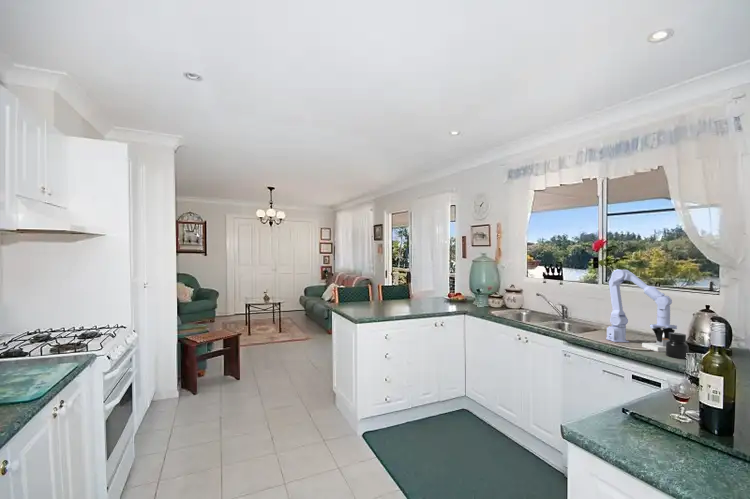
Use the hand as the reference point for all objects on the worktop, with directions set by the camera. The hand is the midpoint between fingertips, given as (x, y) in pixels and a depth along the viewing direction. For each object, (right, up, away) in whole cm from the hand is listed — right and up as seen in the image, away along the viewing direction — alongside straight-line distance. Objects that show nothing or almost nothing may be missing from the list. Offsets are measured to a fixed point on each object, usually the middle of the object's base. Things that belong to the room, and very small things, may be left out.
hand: (663, 341), depth 196 cm
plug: (0, -3, 0) cm, 3 cm away
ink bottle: (-6, -4, -16) cm, 17 cm away
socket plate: (0, -5, 0) cm, 4 cm away
